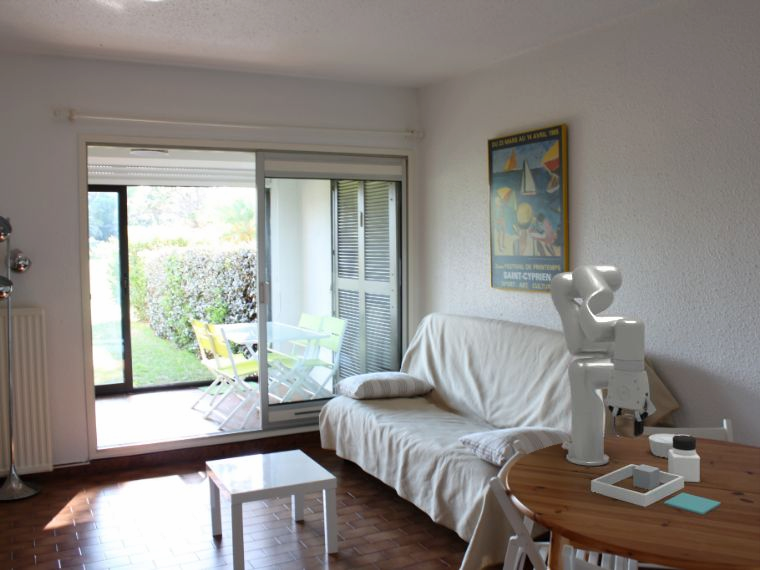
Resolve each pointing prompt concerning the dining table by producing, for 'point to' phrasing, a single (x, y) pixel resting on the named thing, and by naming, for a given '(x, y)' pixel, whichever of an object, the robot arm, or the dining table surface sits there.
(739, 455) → the dining table surface
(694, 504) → the teal mat
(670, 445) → the ramekin
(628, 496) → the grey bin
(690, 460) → the medicine bottle
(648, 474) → the slate box
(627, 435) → the walnut box
